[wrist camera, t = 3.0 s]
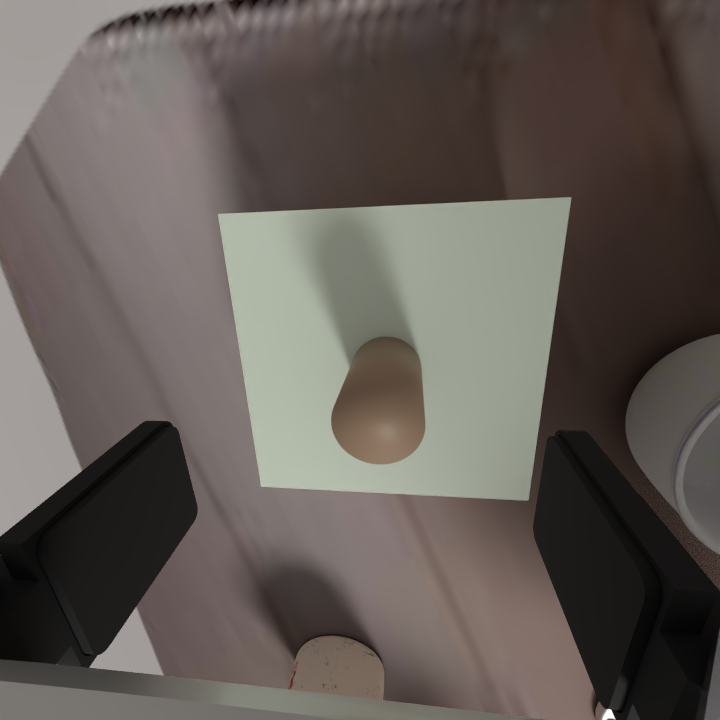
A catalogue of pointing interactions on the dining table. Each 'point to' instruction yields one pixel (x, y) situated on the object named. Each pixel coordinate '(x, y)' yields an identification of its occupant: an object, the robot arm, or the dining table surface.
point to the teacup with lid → (338, 668)
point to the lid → (397, 342)
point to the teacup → (682, 434)
